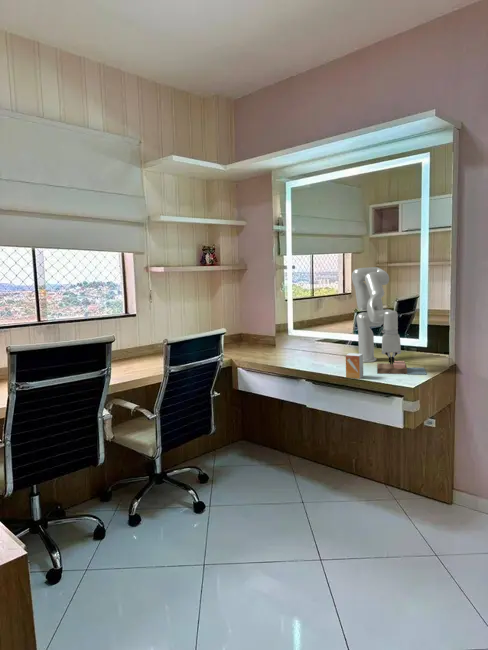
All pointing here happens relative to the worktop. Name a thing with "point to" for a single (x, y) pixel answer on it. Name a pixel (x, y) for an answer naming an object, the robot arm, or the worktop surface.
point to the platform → (390, 369)
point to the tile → (399, 364)
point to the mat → (416, 371)
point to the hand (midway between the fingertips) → (391, 363)
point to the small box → (354, 365)
